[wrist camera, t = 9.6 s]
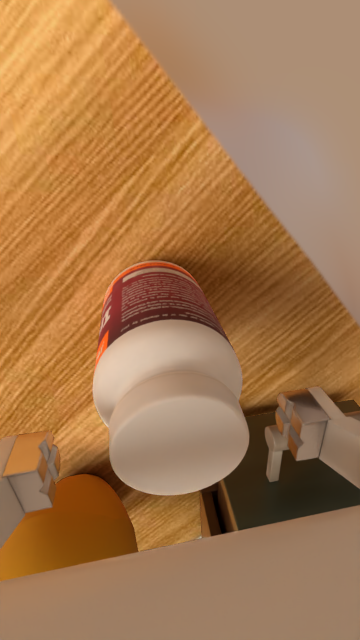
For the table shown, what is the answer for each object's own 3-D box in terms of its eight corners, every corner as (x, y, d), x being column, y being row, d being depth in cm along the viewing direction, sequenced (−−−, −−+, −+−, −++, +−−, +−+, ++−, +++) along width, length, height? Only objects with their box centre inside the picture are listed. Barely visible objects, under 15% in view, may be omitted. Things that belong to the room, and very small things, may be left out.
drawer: (204, 378, 22) (244, 492, 15) (365, 355, 23) (474, 448, 16) (208, 523, 31) (235, 640, 23) (325, 500, 32) (385, 604, 25)
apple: (16, 443, 23) (-68, 669, 13) (145, 448, 26) (159, 643, 16) (15, 522, 28) (-49, 741, 17) (126, 520, 30) (127, 711, 20)
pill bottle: (88, 271, 18) (49, 407, 9) (192, 245, 18) (266, 349, 9) (120, 357, 21) (117, 527, 12) (208, 334, 22) (277, 482, 12)
